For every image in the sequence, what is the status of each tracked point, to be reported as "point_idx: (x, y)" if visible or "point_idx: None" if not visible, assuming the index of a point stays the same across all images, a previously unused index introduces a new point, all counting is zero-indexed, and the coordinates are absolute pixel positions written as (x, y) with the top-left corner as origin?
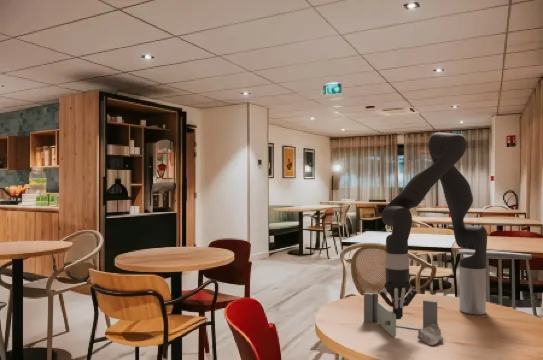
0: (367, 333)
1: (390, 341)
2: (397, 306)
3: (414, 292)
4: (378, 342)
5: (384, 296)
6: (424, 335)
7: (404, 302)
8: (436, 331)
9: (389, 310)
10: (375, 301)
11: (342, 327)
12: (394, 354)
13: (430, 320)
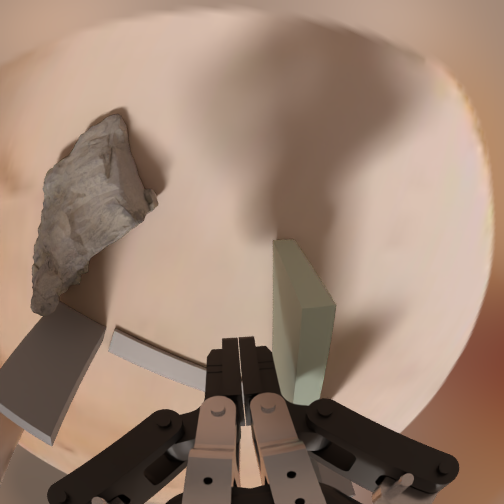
0: (379, 297)
1: (320, 190)
2: (261, 405)
3: (68, 500)
4: (381, 184)
5: (417, 456)
6: (120, 180)
7: (182, 441)
8: (48, 227)
9: (304, 392)
10: None
11: (424, 346)
12: (355, 38)
13: (57, 342)
